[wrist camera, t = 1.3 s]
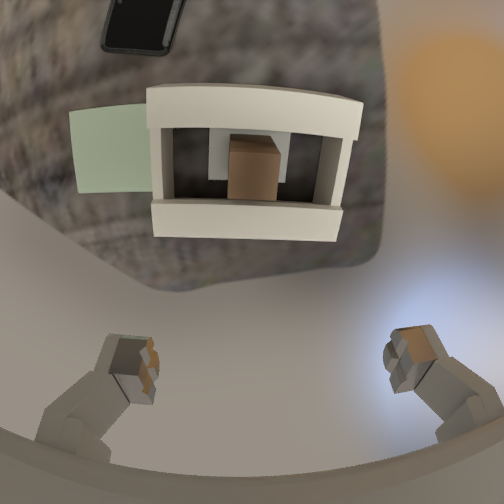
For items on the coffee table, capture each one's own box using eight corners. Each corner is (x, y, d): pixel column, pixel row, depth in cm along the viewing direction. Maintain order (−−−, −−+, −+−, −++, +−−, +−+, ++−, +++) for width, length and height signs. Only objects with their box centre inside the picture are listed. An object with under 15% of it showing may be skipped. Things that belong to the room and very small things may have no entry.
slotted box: (166, 205, 34) (153, 236, 29) (164, 83, 27) (146, 88, 21) (318, 210, 36) (335, 241, 30) (337, 94, 28) (363, 102, 23)
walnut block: (227, 171, 31) (227, 198, 25) (229, 133, 28) (229, 151, 23) (266, 172, 31) (276, 200, 25) (270, 135, 29) (281, 154, 23)
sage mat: (80, 191, 32) (78, 193, 32) (71, 111, 27) (69, 111, 26) (157, 189, 33) (155, 191, 33) (154, 102, 28) (153, 103, 27)
